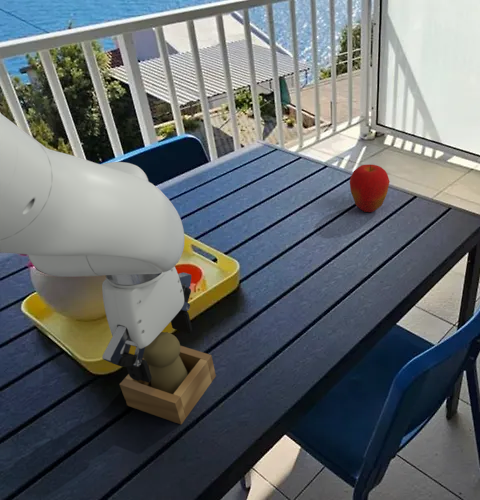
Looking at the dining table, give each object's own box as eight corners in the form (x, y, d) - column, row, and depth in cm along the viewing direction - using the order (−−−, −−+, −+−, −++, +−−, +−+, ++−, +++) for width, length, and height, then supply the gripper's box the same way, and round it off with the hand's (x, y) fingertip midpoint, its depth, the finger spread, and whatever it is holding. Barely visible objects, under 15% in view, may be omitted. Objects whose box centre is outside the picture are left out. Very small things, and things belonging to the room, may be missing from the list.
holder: (181, 424, 72) (175, 403, 69) (127, 405, 74) (119, 384, 72) (216, 376, 79) (211, 354, 76) (165, 360, 82) (159, 339, 79)
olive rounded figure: (189, 370, 80) (176, 321, 74) (197, 398, 76) (184, 349, 69) (149, 382, 78) (133, 333, 71) (155, 412, 74) (138, 363, 67)
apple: (388, 201, 124) (392, 157, 117) (385, 220, 117) (389, 174, 110) (351, 197, 125) (353, 153, 118) (346, 216, 118) (347, 170, 111)
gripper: (153, 218, 69) (176, 307, 80) (57, 297, 56) (99, 391, 67) (200, 229, 68) (217, 319, 78) (112, 314, 54) (146, 408, 65)
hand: (163, 352), depth 72 cm, fingers open, 9 cm apart
